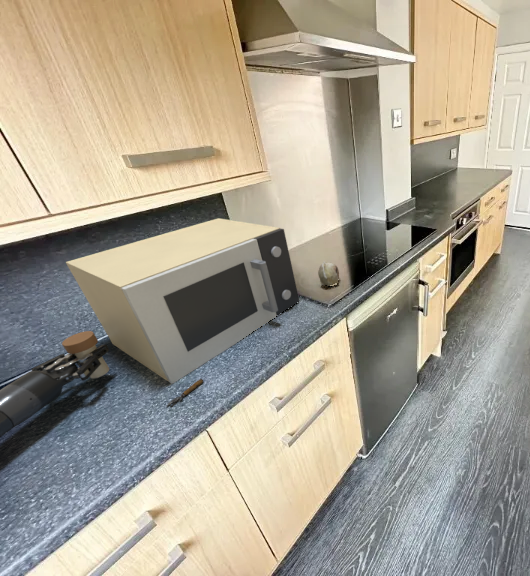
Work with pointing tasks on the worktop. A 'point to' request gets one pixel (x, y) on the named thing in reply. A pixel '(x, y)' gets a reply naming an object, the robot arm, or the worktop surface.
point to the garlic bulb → (328, 274)
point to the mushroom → (85, 349)
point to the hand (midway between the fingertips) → (98, 347)
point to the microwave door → (203, 307)
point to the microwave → (162, 257)
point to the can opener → (186, 392)
